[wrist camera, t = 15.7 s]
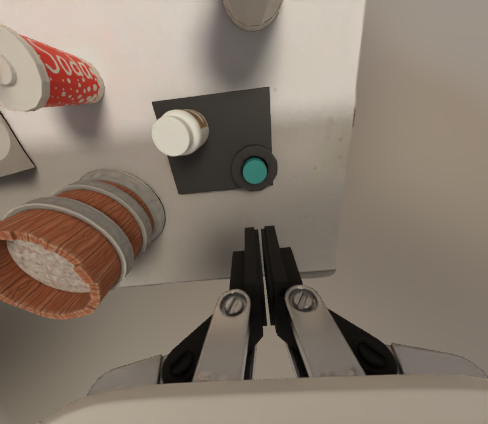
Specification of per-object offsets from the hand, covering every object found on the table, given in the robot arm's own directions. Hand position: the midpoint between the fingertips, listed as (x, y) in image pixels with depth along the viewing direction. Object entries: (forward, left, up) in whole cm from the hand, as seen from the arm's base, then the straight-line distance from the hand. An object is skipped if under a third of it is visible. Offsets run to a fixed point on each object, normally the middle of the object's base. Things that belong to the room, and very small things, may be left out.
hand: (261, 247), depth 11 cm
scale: (+4, -3, -19) cm, 19 cm away
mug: (+24, +6, -19) cm, 31 cm away
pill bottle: (+7, -6, -17) cm, 20 cm away
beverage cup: (+19, -12, -19) cm, 30 cm away
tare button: (0, 0, -16) cm, 16 cm away
